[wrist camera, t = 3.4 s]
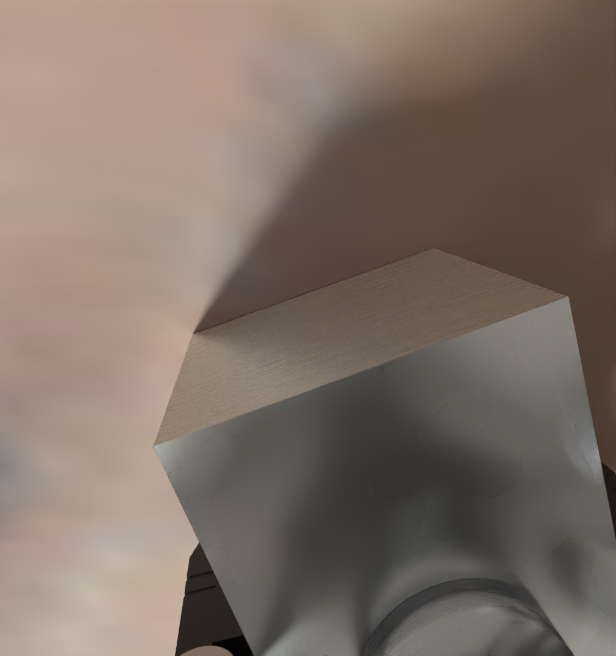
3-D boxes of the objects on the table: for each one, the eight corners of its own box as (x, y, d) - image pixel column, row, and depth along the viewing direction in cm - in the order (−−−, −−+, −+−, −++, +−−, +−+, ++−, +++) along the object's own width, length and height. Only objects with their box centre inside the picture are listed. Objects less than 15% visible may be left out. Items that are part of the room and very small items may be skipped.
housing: (433, 248, 11) (609, 312, 6) (527, 598, 14) (704, 864, 9) (192, 334, 11) (141, 481, 6) (335, 670, 14) (391, 981, 9)
